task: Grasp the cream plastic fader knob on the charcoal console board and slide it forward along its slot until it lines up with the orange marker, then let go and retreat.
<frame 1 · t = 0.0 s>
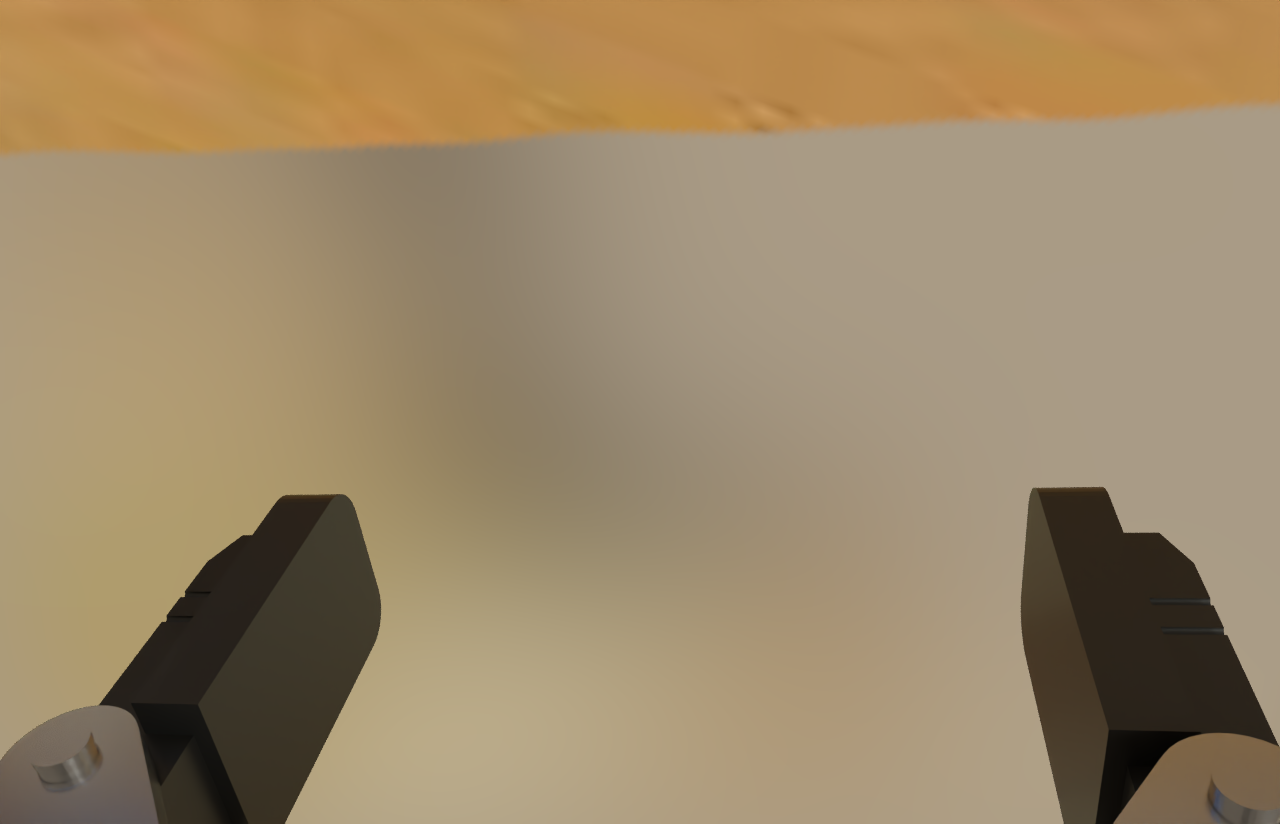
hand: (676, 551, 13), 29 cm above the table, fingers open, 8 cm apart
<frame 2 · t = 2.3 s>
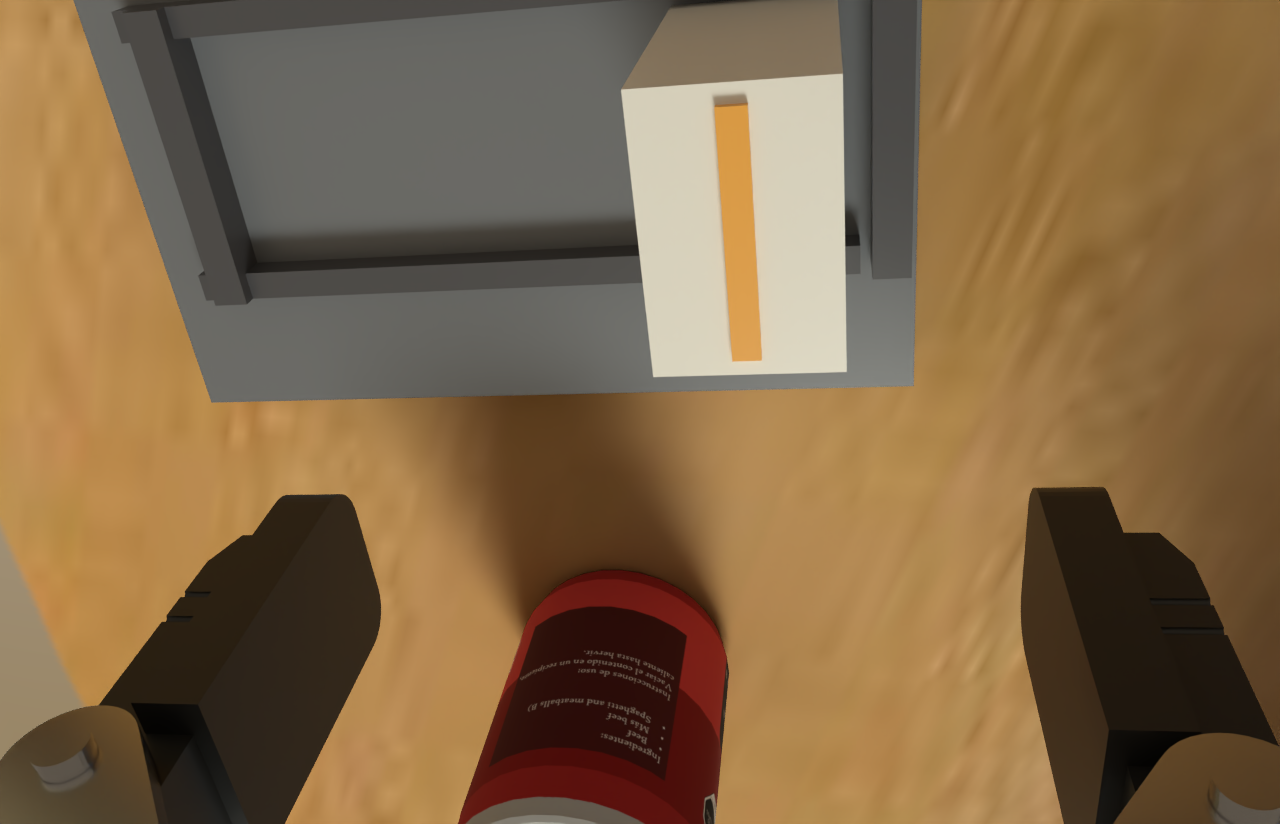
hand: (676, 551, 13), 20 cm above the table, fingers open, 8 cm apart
fader: (750, 173, 25), point 6 cm above the table, slide at 0.0 cm
console: (516, 115, 31), on the table
canned food: (628, 643, 41), on the table
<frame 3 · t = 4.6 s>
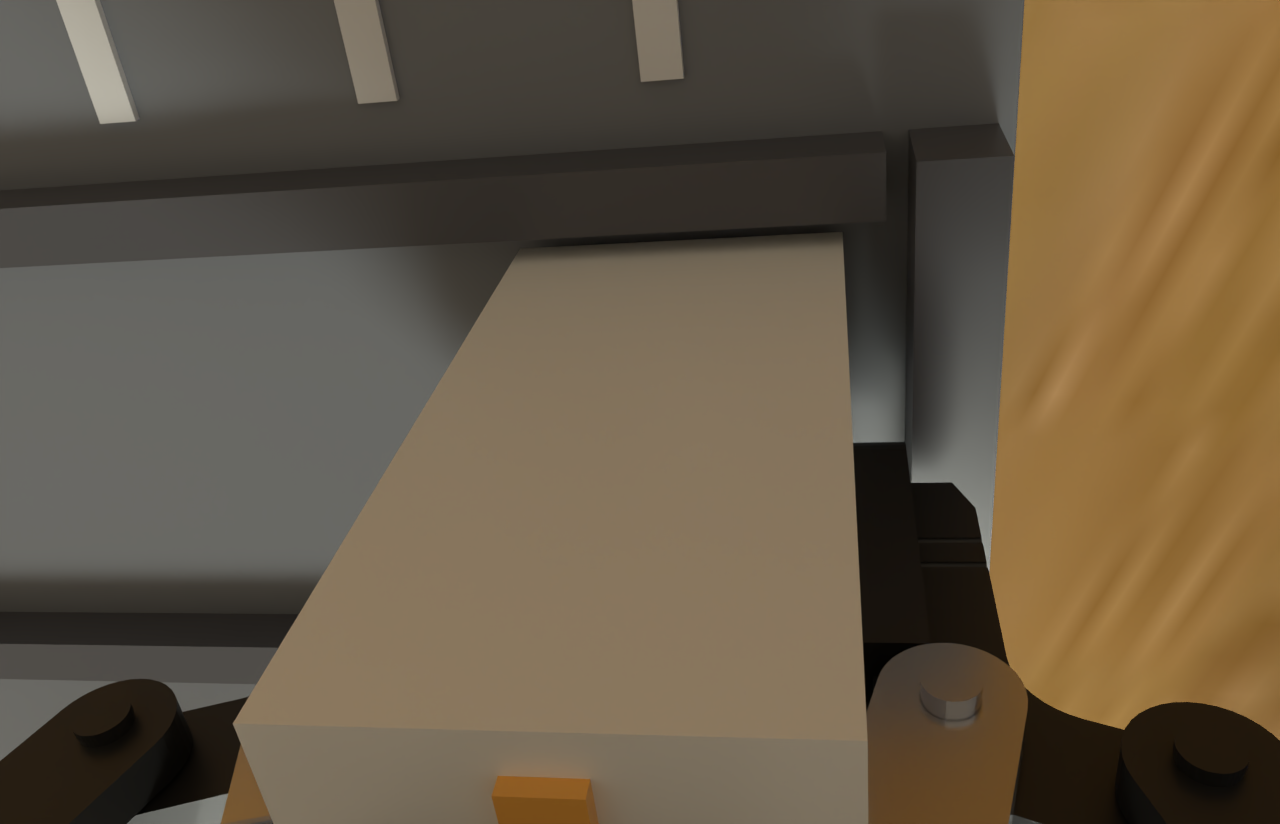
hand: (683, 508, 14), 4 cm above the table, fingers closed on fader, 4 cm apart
fader: (660, 654, 12), point 6 cm above the table, slide at 0.0 cm, touching gripper
console: (288, 380, 18), on the table
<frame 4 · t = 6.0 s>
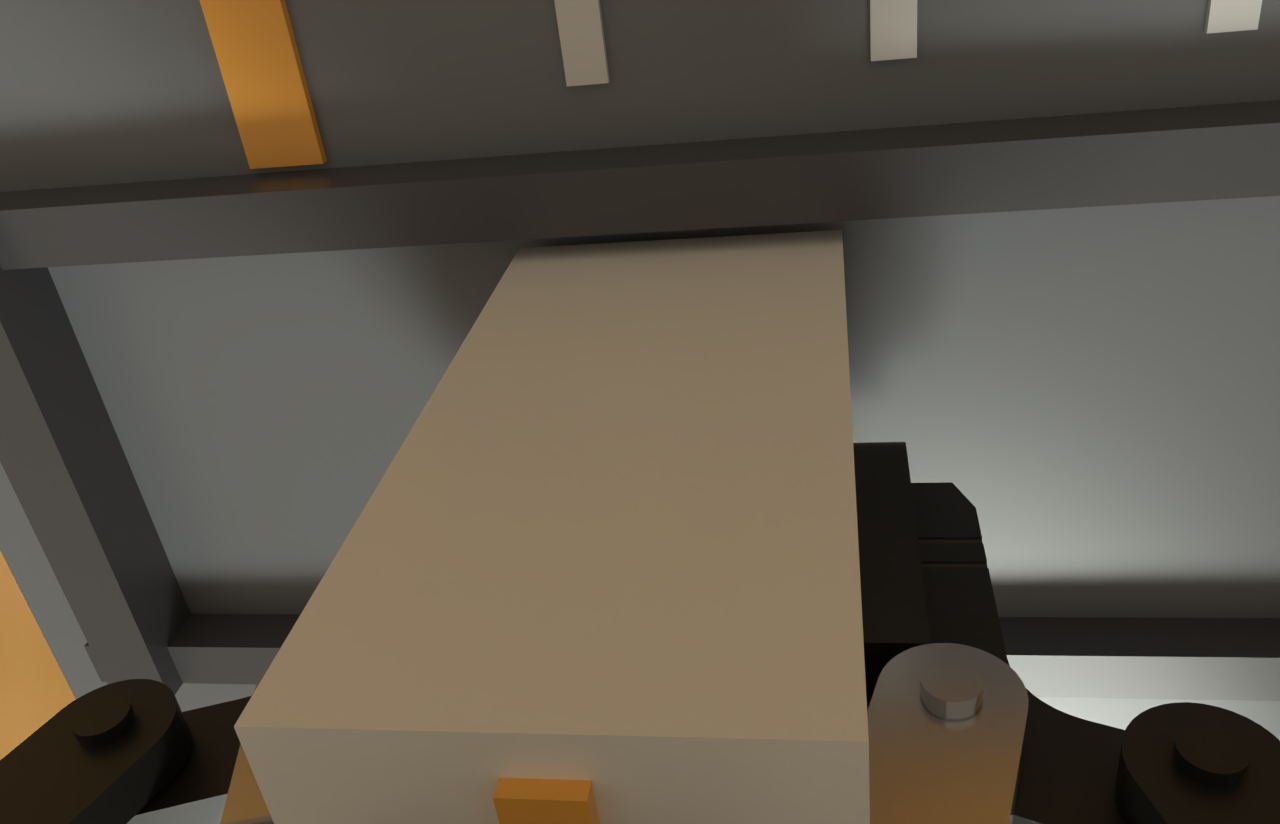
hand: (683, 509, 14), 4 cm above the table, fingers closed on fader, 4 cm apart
fader: (662, 653, 12), point 6 cm above the table, slide at 6.1 cm, touching gripper
console: (654, 367, 17), on the table
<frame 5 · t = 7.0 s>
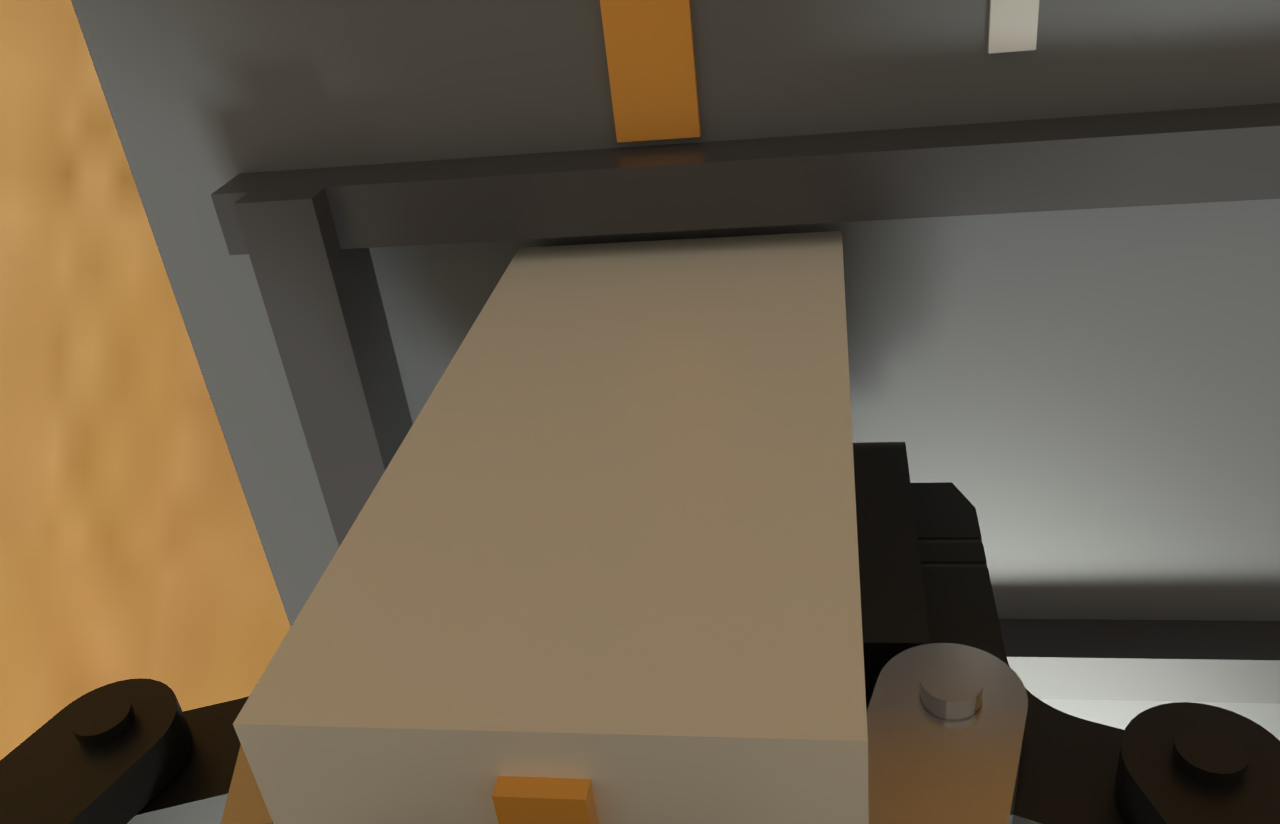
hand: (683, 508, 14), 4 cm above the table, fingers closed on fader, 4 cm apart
fader: (660, 653, 12), point 6 cm above the table, slide at 10.9 cm, touching gripper
console: (971, 357, 16), on the table
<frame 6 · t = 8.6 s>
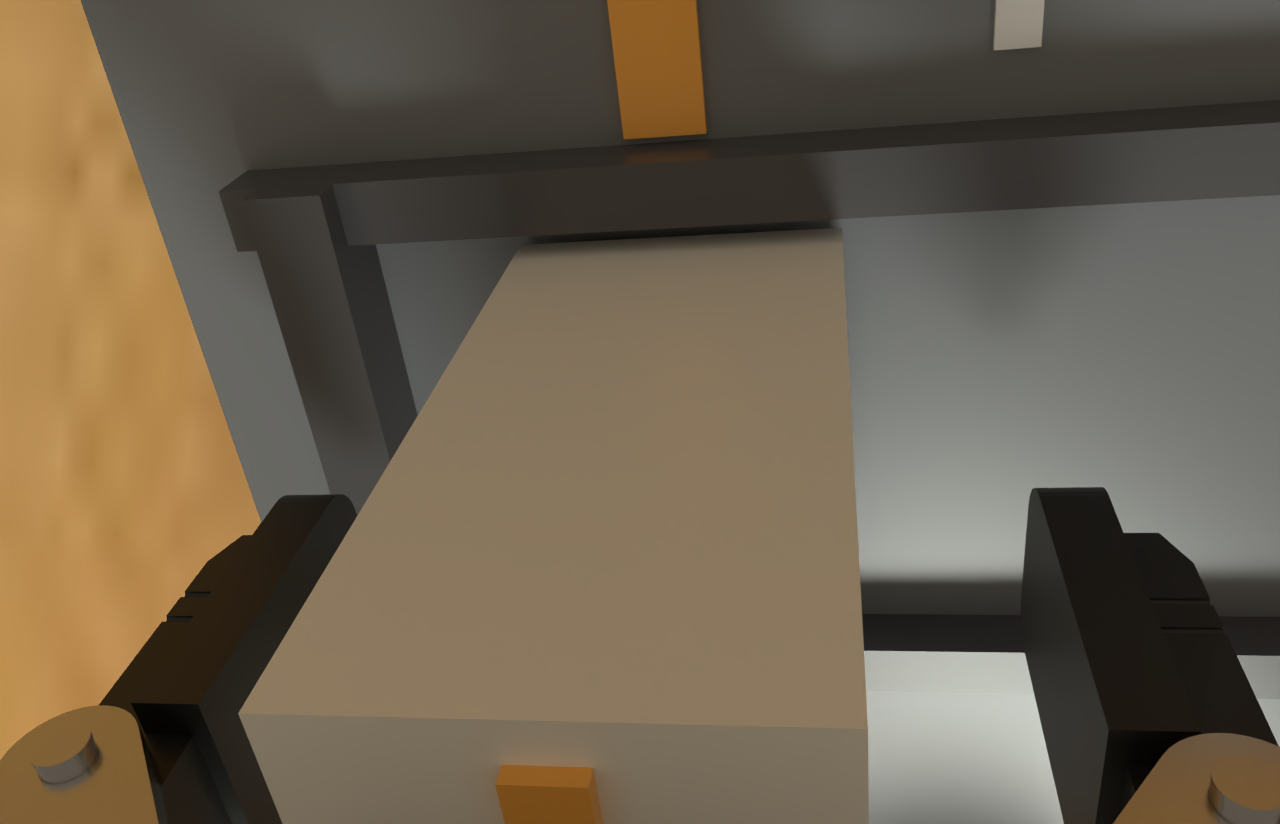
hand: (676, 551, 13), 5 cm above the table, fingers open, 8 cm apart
fader: (661, 648, 12), point 6 cm above the table, slide at 10.9 cm
console: (975, 354, 16), on the table
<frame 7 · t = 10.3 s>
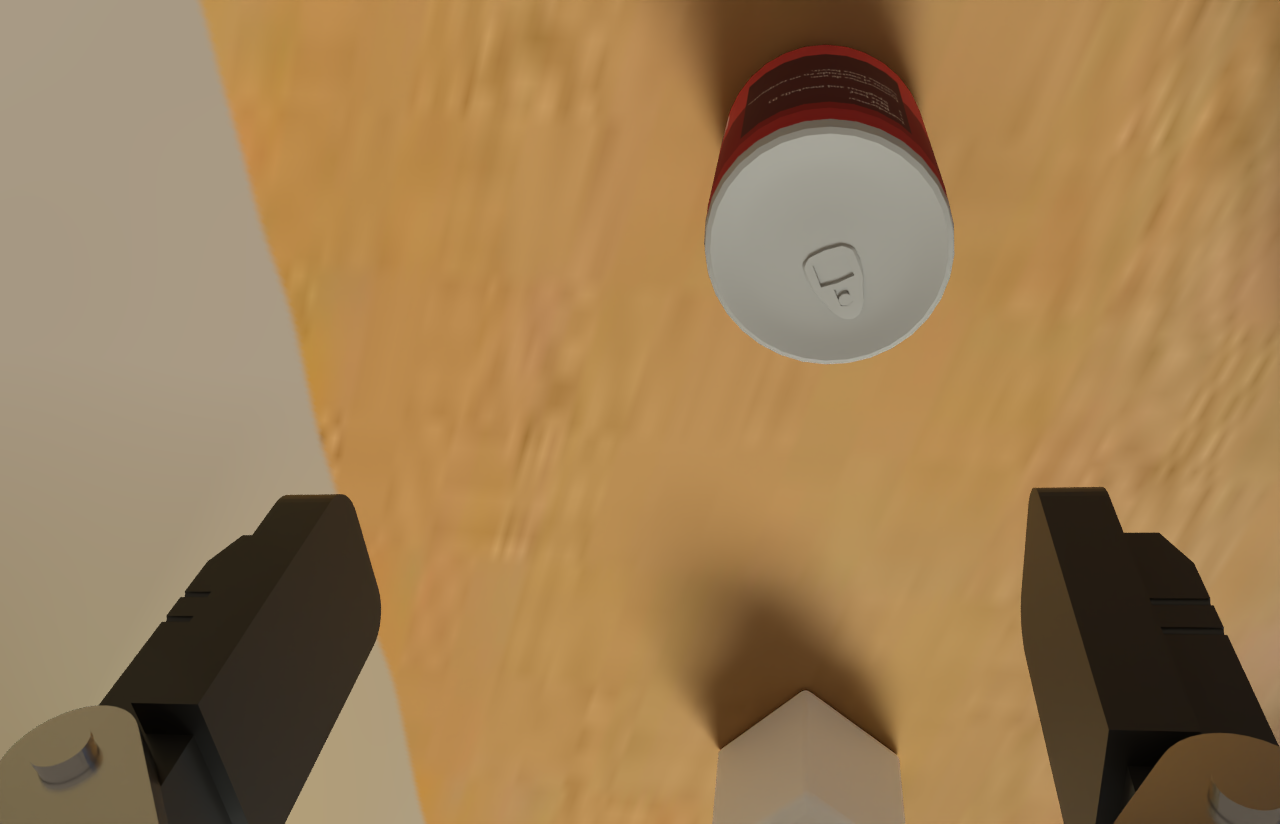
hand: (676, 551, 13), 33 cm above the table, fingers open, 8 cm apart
medicine bottle: (807, 749, 61), on the table
canned food: (822, 141, 43), on the table
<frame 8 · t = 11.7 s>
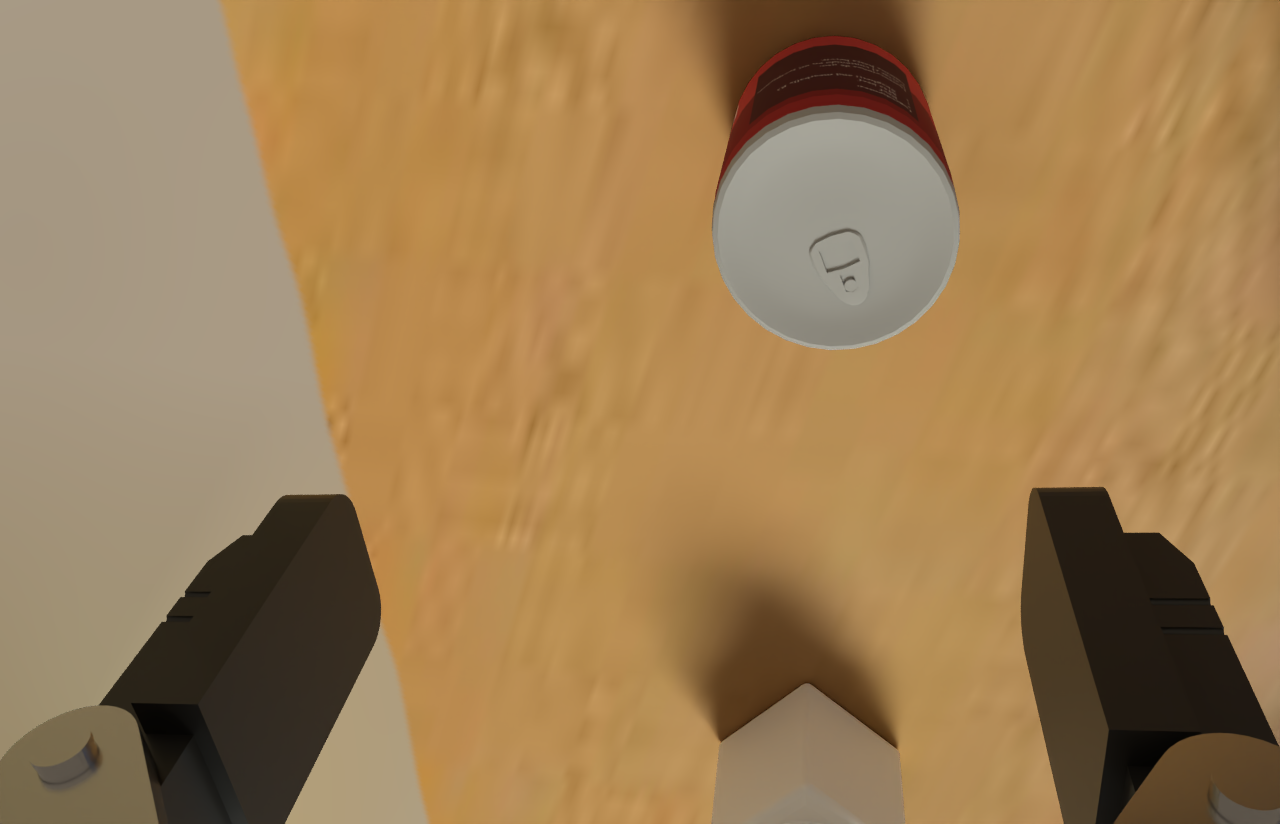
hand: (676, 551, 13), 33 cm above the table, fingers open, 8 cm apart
medicine bottle: (808, 742, 61), on the table
canned food: (830, 133, 44), on the table
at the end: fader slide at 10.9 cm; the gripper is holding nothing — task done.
